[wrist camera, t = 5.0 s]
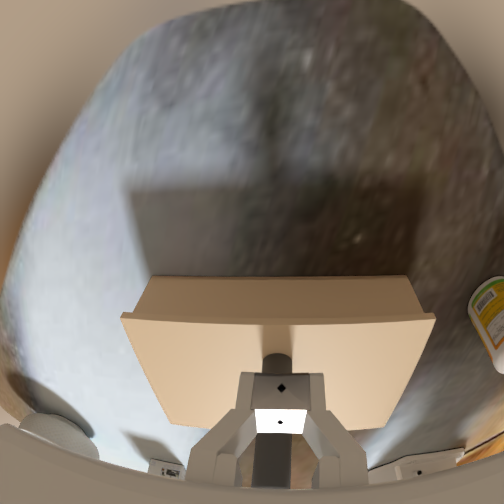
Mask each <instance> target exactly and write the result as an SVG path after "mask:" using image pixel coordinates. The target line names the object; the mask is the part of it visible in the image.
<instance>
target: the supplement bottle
mask: <svg viewBox="0 0 504 504" xmlns="http://www.w3.org/2000/svg"><path fill="white" fill-rule="evenodd" d="M468 315H469V317H470V319H471V321H472V323H473V325H474V327H475V328H476V330H477V332H478V334H479V336H480V338H481V340H482V342H483V344H484V346H485V348H486V350H487V352H488V354H489V356H490V359H491V361H492V363H493V365H494V367H495V369H496V370H497V371H498V372H499V373H501V374H504V277H503V276H497V277H493V278H491V279H489V280H487V281H485V282H484V283H483V284H481V285H480V286H479V287H478V288H477V289H476V291H475V292H474V293H473V295H472V296H471V298H470V301H469V304H468Z"/></svg>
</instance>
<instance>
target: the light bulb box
mask: <svg viewBox="0 0 504 504" xmlns="http://www.w3.org/2000/svg"><path fill="white" fill-rule="evenodd" d="M147 473H150V474H154V475H159V476H164V477H169V478H175V479H180V480H184V479H185V475H186V471H185V468H184V466H183V465H178V464H173V463H168V462H164V461H159V460H155V459H151V461H150V464H149V468H148V472H147Z"/></svg>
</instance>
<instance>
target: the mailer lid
mask: <svg viewBox="0 0 504 504" xmlns="http://www.w3.org/2000/svg"><path fill="white" fill-rule="evenodd" d="M120 319H121V322H122V324H123V327H124V329H125V331H126V334H127V336H128V338H129V341H130V343H131V345H132V347H133V350H134V352H135V354H136V356H137V358H138V360H139V363H140V365H141V367H142V369H143V371H144V373H145V375H146V377H147V379H148V381H149V383H150V385H151V387H152V389H153V391H154V393H155V395H156V397H157V399H158V401H159V403H160V405H161V407H162V409H163V410H164V412H165V414H166V416H167V418H168V420H169V421H170V423H171V424H175V425H182V426H190V427H199V428H208V429H212V428H213V427H214V426H215V425H216V424H217V423H218V422H219V421H220V420H221V419H222V418H223V417H224V416H225V415H226V414H227V413H228V412H229V410H230V409H235V406H236V399H237V392H238V385H239V378H240V374H241V372H260V373H323V375H324V384H325V399H326V410H330V411H331V412H332V413H333V414H334V415H335V417H336V418H337V419H338V420H339V421H340V423H341V424H342V425H343V426H344V427H345V429H346V430H359V429H370V428H379V427H384V426H385V424H386V422H387V421H388V419H389V417H390V415H391V414H392V412H393V410H394V408H395V406H396V405H397V403H398V401H399V399H400V397H401V395H402V393H403V391H404V389H405V387H406V385H407V383H408V381H409V379H410V377H411V375H412V373H413V371H414V369H415V367H416V365H417V363H418V361H419V358H420V356H421V354H422V352H423V349H424V347H425V345H426V343H427V340H428V338H429V335H430V333H431V331H432V328H433V326H434V323H435V321H436V317H435V315H434V313H423V314H407V315H390V316H368V317H337V318H231V317H200V316H178V315H160V314H144V313H130V312H123V313H122V315H121V317H120ZM291 445H292V433H257V435H256V442H255V453H254V463H253V474H252V484H251V488H265V489H290V479H291Z"/></svg>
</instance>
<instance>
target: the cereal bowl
mask: <svg viewBox="0 0 504 504" xmlns="http://www.w3.org/2000/svg"><path fill="white" fill-rule="evenodd" d="M19 429H21V430H23V431H25V432H27V433H30V434H32V435H34V436H36V437H39V438H41V439H43V440H46V441H48V442H50V443H53V444H55V445H58V446H61V447H63V448H66V449H68V450H71V451H74V452H77V453H80V454H82V455H85V456H88V457H91V458H95V459H98V460H99V452H98V449H97V447H96V446H95V444H94V443H93V442H92V441H91V440H90V439H89V438H88V437H87V436H86V435H85V433H84V431H83V430H82V429H81V428H80V427H79V426H77V425H76V424H74V423H73V422H71V421H69V420H68V419H66V418H64V417H61V416H59V415H56V414H49V415H47V414H42V413H33V414H29V415H27V416H26V417H25V418H24V419H23V420H22V422H21V423H20V426H19Z"/></svg>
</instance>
